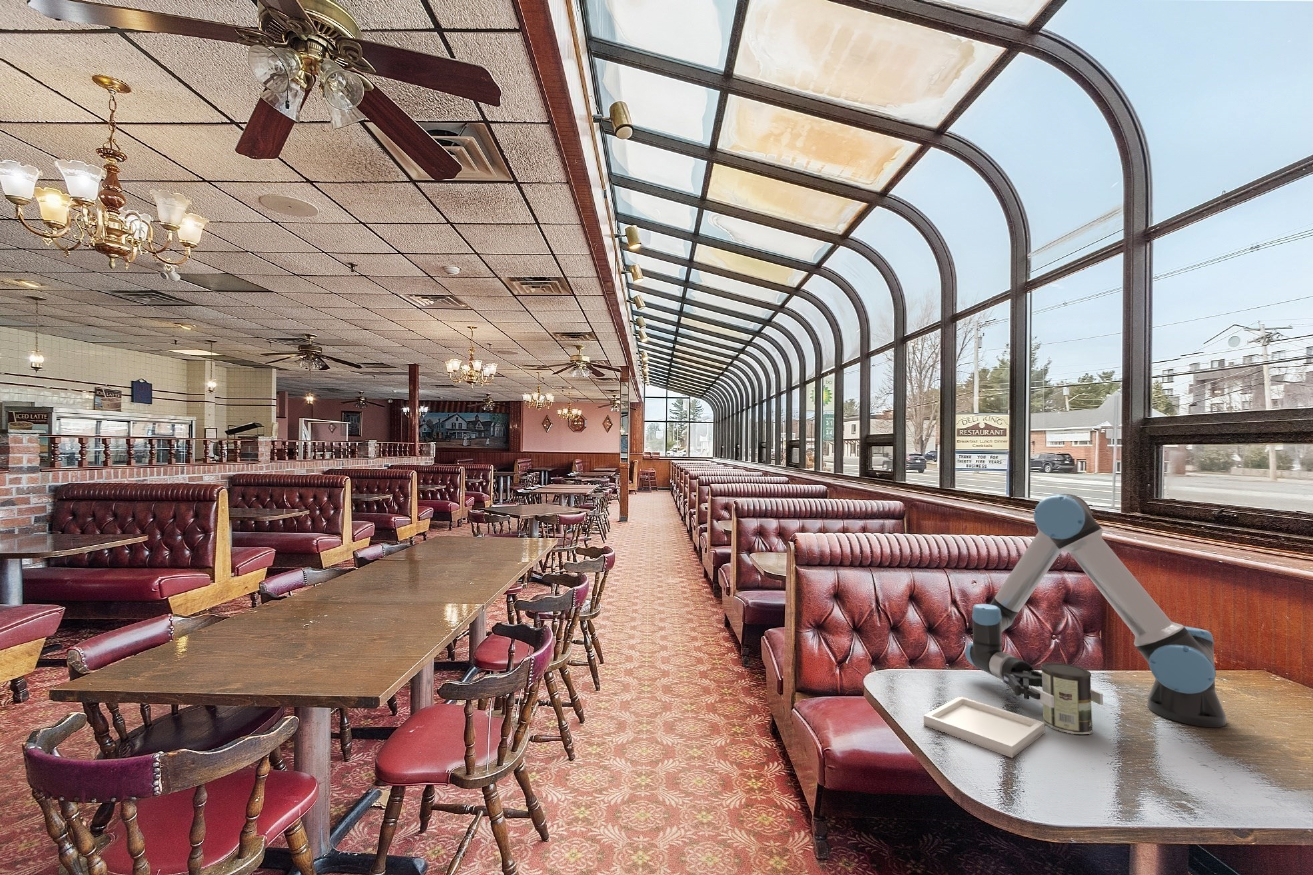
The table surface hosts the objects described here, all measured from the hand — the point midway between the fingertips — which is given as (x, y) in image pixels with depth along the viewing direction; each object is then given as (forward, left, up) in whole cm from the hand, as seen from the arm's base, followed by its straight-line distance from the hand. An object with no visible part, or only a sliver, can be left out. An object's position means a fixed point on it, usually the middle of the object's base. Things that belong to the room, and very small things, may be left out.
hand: (1077, 700), depth 141 cm
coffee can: (+3, -2, -8) cm, 8 cm away
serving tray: (+15, +17, -8) cm, 24 cm away
